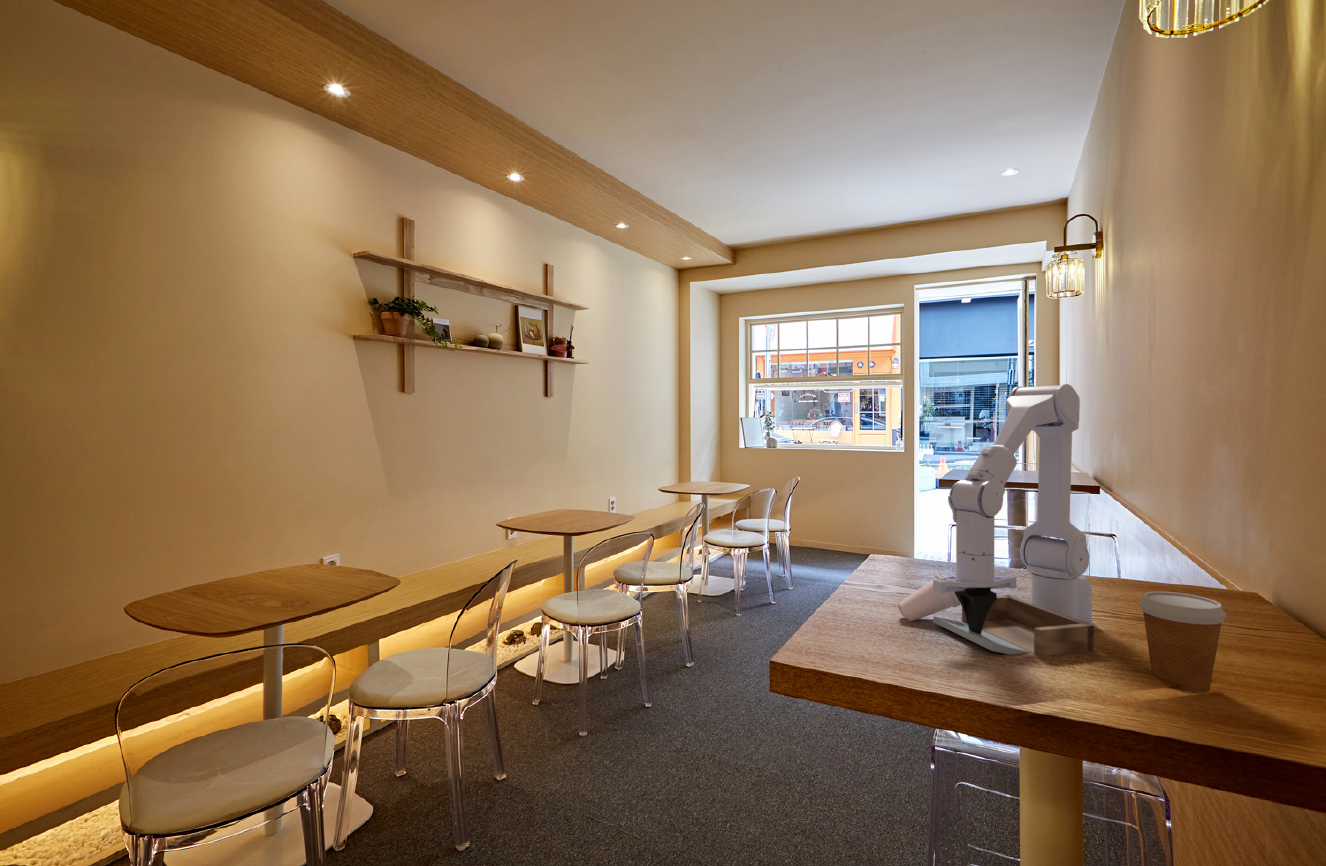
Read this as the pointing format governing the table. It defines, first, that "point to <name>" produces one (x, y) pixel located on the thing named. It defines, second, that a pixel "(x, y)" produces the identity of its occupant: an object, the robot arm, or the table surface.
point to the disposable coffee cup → (1182, 638)
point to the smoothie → (927, 602)
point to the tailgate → (979, 637)
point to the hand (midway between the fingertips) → (974, 632)
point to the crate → (1037, 628)
